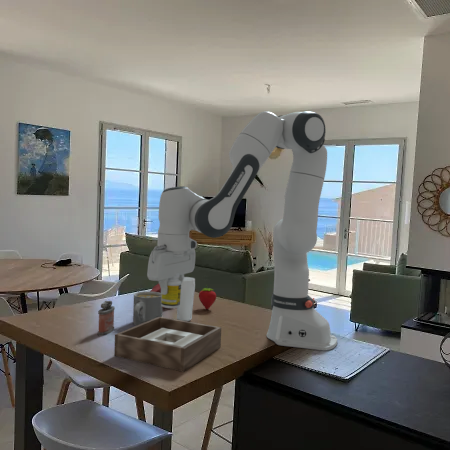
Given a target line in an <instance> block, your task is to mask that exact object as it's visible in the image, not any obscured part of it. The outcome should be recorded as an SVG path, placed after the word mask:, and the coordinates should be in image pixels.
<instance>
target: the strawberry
mask: <svg viewBox="0 0 450 450" xmlns="http://www.w3.org/2000/svg"><path fill="white" fill-rule="evenodd" d="M205 286H206V287H204V288H202V289H201V290H200V291H199V293H198V298H199V301H200V303H201V305H202V306H203V307H204V308H205V310H209V309H210V308H211V307H212V305H213V304H214V303H215V302H216V299H217V294H216V292H215V291H214V289H213V288H210V287H209V288H208V286H207V284H206V285H205Z"/></svg>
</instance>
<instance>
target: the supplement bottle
mask: <svg viewBox="0 0 450 450" xmlns="http://www.w3.org/2000/svg"><path fill="white" fill-rule="evenodd" d="M178 278H179V273H177V274H176V275H175V277H172V278H168V282H167V287H168V288H169V293H168V294H166V295H164V294H162V296H161V306H162V308H163V307H164V308H166V309H177V308H178V307H179V306H180V295H181V281H180V280H178Z"/></svg>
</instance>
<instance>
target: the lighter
mask: <svg viewBox="0 0 450 450" xmlns="http://www.w3.org/2000/svg"><path fill="white" fill-rule="evenodd" d="M112 304H113V300H104V302H103V303H101V304H100V309H99V310H98V330H97V335H98V336H100V337H102V336H107V335H108V334H111V333H112V332H113V331H115V321H114V320H115V309H116V307H115V306H113V305H112Z"/></svg>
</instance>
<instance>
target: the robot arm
mask: <svg viewBox="0 0 450 450" xmlns="http://www.w3.org/2000/svg"><path fill="white" fill-rule="evenodd" d="M325 137H326V123H325V120H324V118H323V117H322V115H320V114H319V113H317V112H314V111H308V110H307V111H295V112H290V113H288V114H284V115H282V114H281V115H277V114H275V113H273V112H272V111H266V110H265V111H261V112H259V113H258V114H257V115H255V116H254V117H253V118H252V119H251V120H249V122H248V123H247V125H246V126H245V127H244V128H243V129H242V130H241V132H240V133H239V134H238V136H237V137H236V138H235V139H234V142H233V143H232V146H231V148H230V149H229V153H228V158H229V161H230V164H231V166H232V168H231V172H230V174H229V175H228V178H227V179H226V180H225V182H224V183H223V184H222V187H221V188H220V190H219V191H218V193H217V194H216V195H215V196H214V197H212V198H210V199H207V198H205V197H203V196H201V195H198V194H197V193H195V192H193V190H191V189H190V188H189V187H188V186H185V185H184V186H183V185H182V186H172V187H167V188H165V189H164V190H162V192H161V194H160V196H159V197H160V198H159V204H158V221H159V227H158V231H157V244H156V246H154V248H153V250H151V253H150V255H149V258H148V264H147V274H146V276H147V279H148V280H149V281H154V282H158V284H160V287H161V294H164V295H166V294H168V293H169V288H168V287H167V282H168V278H172V277H175V275H176V274H177V273H179V278H178V280H180V281H181V285H182V282H183V279H184V277H185V275H187V274H190V273H192V272H194V269H195V267H196V265H195V264H196V250H195V249H197V247H198V246H197V245H198V243H197V240H194V239H192V238H191V237H190V232H191V231H196V232H198V233H201V234H202V235H204V236H206V237H208V238H215V239H216V238H220V237H222V236H225V235H226V234H227V233H228V232H229V231H230V229H231V228H232V226H233V223H234V220H235V219H234V218H235V215H236V212H237V209H238V206H239V205H240V203H241V201H242V200H243V198H244V197H245V195H246V193H247V192H248V190H249V188H250V186H251V185H252V183H253V182H254V180H255V178H256V177H257V174H258V173H259V171H260V170H261V169H262V167H263V166H264V164H265V163H266V162H267V161H268V159H269V157H270V156H271V155H272V153H273V151H274V149H276V148H277V149H281V150H285V149H286V150H291V153H292V158H293V159H292V163H291V167H290V171H289V175H288V179H287V184H286V189H285V193H284V206H283V207H284V208H283V217H282V218H281V219H280V220H278V221H277V222H276V224H275V225H274V227H273V229H272V231H273V232H272V242H273V244H272V247H273V263H274V265H273V266H274V276H273V277H274V279H273V280H274V281H273V292H272V295H271V301H270V302H271V303H270V305H271V315H270V316H271V318H270V322H269V326H268V330H267V333H266V337H267V338H268V339H269V340H271V341H272V342H274V343H275V344H276V345H278V346H284V347H291V348H292V347H293V348H300V349H301V348H302V349H310V350H319V351H331V350H332V349H334V348H335V347H336V346H337V345H338V338H337V337H336V336H335V335H333V334H331V327H330V323H329V321H328V320H327V319H326V317H324V316H323V315H321V313H320V312H318V311H317V310H316V309H315V308H314V305H315V297H311V296H310V295H309V280H310V270H309V265H308V256H307V253H309V252H310V251H312V250H313V249H314V248H315V246H316V245H317V240H318V233H317V230H318V220H319V219H318V218H319V206H320V200H321V196H322V195H321V194H322V192H323V187H324V182H325V177H326V172H327V165H328V149H327V147H325V145H324V143H325V141H326V139H325Z"/></svg>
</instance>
